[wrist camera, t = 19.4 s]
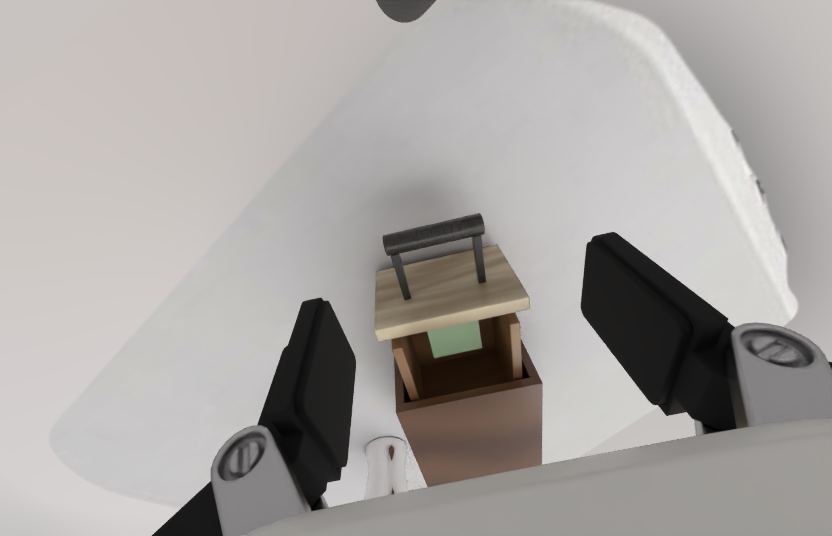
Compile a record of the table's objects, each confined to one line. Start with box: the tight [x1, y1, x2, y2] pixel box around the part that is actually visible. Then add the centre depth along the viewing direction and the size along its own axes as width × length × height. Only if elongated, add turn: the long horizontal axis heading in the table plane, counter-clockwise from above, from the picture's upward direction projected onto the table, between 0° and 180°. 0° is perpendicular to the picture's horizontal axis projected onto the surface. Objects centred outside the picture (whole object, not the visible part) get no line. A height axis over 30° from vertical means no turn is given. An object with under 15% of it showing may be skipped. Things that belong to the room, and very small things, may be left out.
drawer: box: [374, 213, 530, 402], centre depth 29 cm, size 19×11×8 cm, turn 12°
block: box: [427, 320, 482, 358], centre depth 30 cm, size 4×4×4 cm
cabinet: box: [394, 340, 542, 487], centre depth 35 cm, size 15×13×10 cm
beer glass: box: [364, 437, 409, 500], centre depth 42 cm, size 7×7×15 cm
